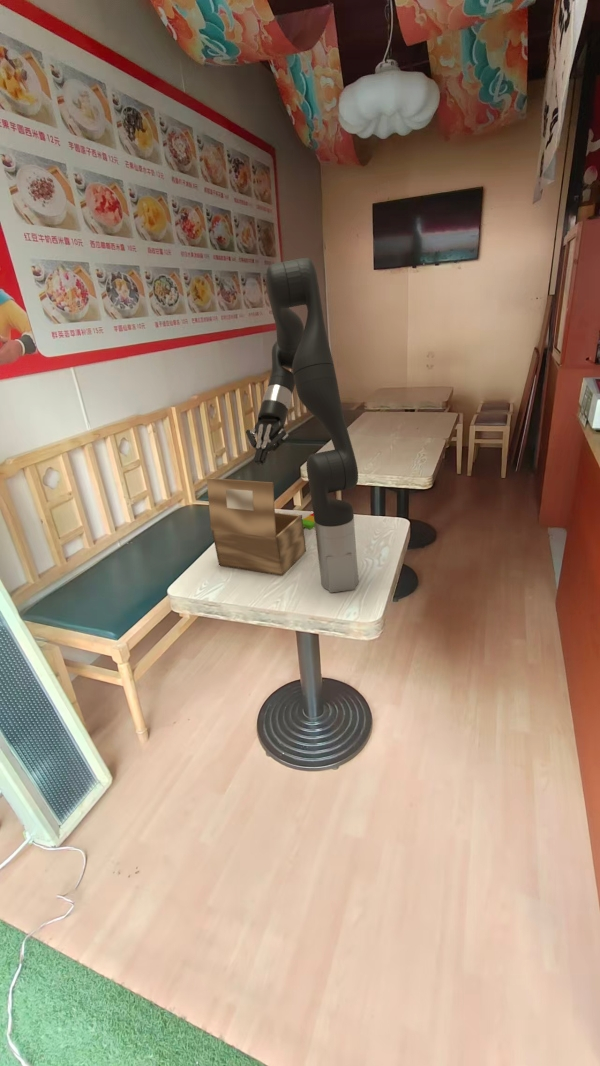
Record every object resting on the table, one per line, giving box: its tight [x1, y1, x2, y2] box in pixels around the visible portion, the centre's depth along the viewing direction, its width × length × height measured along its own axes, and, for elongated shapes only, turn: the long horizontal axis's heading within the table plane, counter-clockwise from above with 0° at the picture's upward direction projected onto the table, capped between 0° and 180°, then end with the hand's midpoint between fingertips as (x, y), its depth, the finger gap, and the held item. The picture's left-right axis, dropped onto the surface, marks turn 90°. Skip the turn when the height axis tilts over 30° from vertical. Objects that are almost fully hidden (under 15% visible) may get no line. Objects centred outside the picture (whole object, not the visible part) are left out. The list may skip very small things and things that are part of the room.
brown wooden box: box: [211, 512, 307, 577], centre depth 141 cm, size 14×20×11 cm
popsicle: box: [302, 512, 315, 530], centre depth 160 cm, size 6×15×2 cm, turn 139°
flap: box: [206, 477, 276, 538], centre depth 131 cm, size 14×20×1 cm
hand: (258, 463), depth 136 cm, fingers closed
